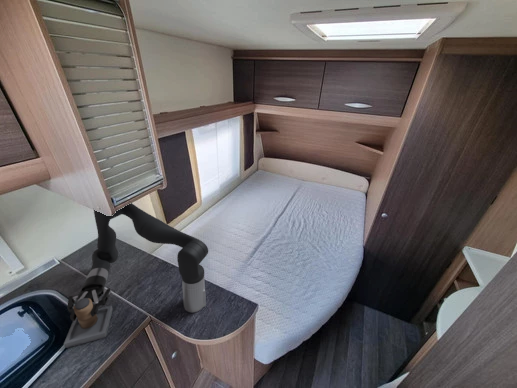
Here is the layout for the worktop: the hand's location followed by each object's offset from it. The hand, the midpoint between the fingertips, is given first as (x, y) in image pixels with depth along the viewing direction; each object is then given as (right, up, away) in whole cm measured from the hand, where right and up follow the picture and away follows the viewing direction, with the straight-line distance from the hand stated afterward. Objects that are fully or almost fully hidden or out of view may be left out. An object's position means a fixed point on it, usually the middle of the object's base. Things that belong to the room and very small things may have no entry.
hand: (82, 317), depth 75 cm
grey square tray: (-2, -8, +6) cm, 10 cm away
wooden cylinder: (-2, -5, +5) cm, 7 cm away
